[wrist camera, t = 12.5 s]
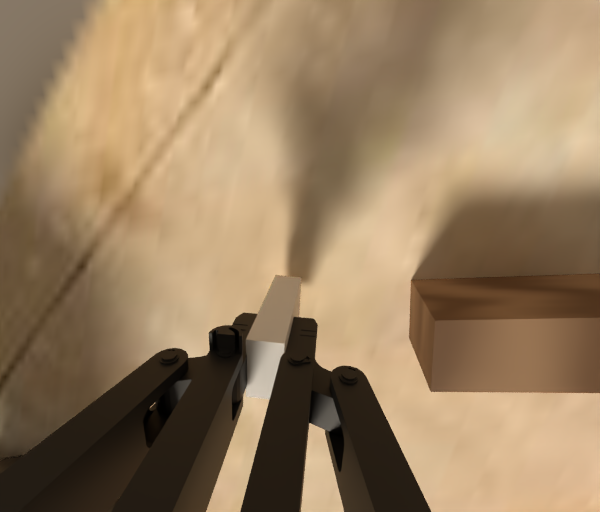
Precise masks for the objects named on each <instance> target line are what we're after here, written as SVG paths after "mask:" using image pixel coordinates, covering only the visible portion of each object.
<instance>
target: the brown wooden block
mask: <svg viewBox="0 0 600 512" xmlns="http://www.w3.org/2000/svg"><path fill="white" fill-rule="evenodd" d="M409 339H410V341H411V344H412V346H413V349H414V351H415V354H416V356H417V359H418V361H419V363H420V366H421V368H422V371H423V373H424V376H425V378H426V381H427V383H428V386H429V388H430V391H431V392H541V393H600V274H575V275H545V276H515V277H486V278H456V279H426V280H411V298H410V328H409Z"/></svg>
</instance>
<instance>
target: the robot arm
mask: <svg viewBox="0 0 600 512" xmlns="http://www.w3.org/2000/svg"><path fill="white" fill-rule="evenodd" d="M300 292H301V277H291V276H280V275H275V278H274V280H273V282H272V284H271V286H270V288H269V291H268V293H267V295H266V297H265V299H264V301H263V304H262V306H261V308H260V310H259V312H258V314H252V313H242V314H241V315H239V316H238V317H236V319H235V321H234V322H233V325H232V326H231V325H228V326H220V327H216V328H214V329H212V330H211V331H210V332H209V345H210V351H209V353H208V354H207V355H206V356H202V357H195V358H188V354H187V353H186V351H184V350H182V349H177V348H172V349H166V350H163V351H161V352H159V353H157V354H155V355H154V356H153V357H151V358H150V359H149V360H148V361H146V362H145V363H144V364H142V365H141V366H140V367H138V368H137V369H136V370H135V371H133V372H132V373H131V374H129V375H128V376H127V377H125V378H124V379H123V380H122V381H120V382H119V383H118V384H116V385H115V386H114V387H112V388H111V389H110V390H109V391H107V392H106V393H105V394H103V395H102V396H101V397H99V398H98V399H97V400H96V401H94V402H93V403H92V404H90V405H89V406H88V407H86V408H85V409H84V410H83V411H81V412H80V413H79V414H77V415H76V416H75V417H73V418H72V419H71V420H70V421H68V422H67V423H66V424H64V425H63V426H62V427H60V428H59V429H58V430H56V431H55V432H54V433H53V434H51V435H50V436H49V437H47V438H46V439H45V440H43V441H42V442H41V443H40V444H38V445H37V446H36V447H34V448H33V449H32V450H30V451H29V452H28V453H27V454H25V455H24V456H23V457H13V458H8V459H4V460H1V461H0V512H206V510H207V507H208V504H209V501H210V498H211V495H212V493H213V490H214V487H215V484H216V481H217V478H218V475H219V473H220V470H221V467H222V464H223V461H224V458H225V456H226V453H227V450H228V447H229V444H230V441H231V438H232V436H233V433H234V430H235V427H236V424H237V421H238V418H239V416H240V413H241V410H242V407H243V394H244V391H245V389H246V397H253V398H262V399H270V400H269V404H268V408H267V412H266V416H265V419H264V423H263V427H262V431H261V435H260V439H259V443H258V446H257V450H256V454H255V458H254V462H253V466H252V469H251V473H250V477H249V481H248V485H247V489H246V492H245V496H244V500H243V504H242V508H241V512H301V503H302V492H303V482H304V471H305V460H306V450H307V439H308V430H309V423H311V424H313V425H316V426H318V427H320V428H323V429H325V435H326V439H327V443H328V447H329V451H330V455H331V459H332V463H333V467H334V471H335V475H336V480H337V484H338V488H339V492H340V496H341V500H342V504H343V508H344V512H431V510H430V508H429V506H428V504H427V502H426V500H425V498H424V496H423V494H422V491H421V489H420V487H419V485H418V483H417V481H416V479H415V477H414V475H413V473H412V471H411V469H410V467H409V465H408V462H407V460H406V458H405V456H404V454H403V452H402V450H401V448H400V446H399V444H398V442H397V440H396V438H395V436H394V433H393V431H392V429H391V427H390V425H389V423H388V421H387V419H386V417H385V415H384V413H383V411H382V409H381V407H380V404H379V402H378V400H377V398H376V396H375V394H374V392H373V390H372V388H371V386H370V384H369V382H368V380H367V377H366V376H365V375H364V373H363V372H362V371H360V370H359V369H357V368H354V367H351V366H340V367H337V368H335V369H334V370H333V371H332V372H331V371H328V370H326V369H324V368H322V367H321V366H319V365H318V363H317V362H316V360H315V351H316V338H317V326H318V325H317V323H316V321H315V320H314V319H311V318H301V317H299V310H300ZM154 403H155V404H154ZM153 404H154V405H153ZM152 405H153V406H152ZM150 406H152V407H151V408H150ZM120 496H121V497H120ZM119 497H120V498H119ZM118 499H119V500H118ZM117 500H118V501H117Z"/></svg>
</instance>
